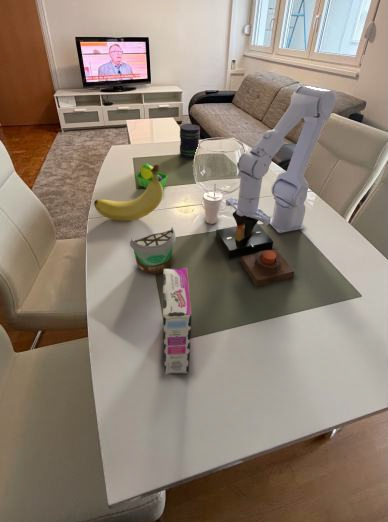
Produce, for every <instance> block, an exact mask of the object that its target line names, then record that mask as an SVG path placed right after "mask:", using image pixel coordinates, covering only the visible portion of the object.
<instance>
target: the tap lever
mask: <svg viewBox="0 0 388 522" xmlns="http://www.w3.org/2000/svg"><path fill="white" fill-rule="evenodd" d="M244 231H245V225H244V223H243V224H241V225H240V226H238V227H237V228H236V232H235V239H236V240H237V241H240V240H242V239H243V238H245V237H244ZM253 231H254V228H253V230H252V232H253ZM252 232H251V233H252Z"/></svg>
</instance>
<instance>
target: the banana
mask: <svg viewBox="0 0 388 522" xmlns="http://www.w3.org/2000/svg"><path fill="white" fill-rule="evenodd" d="M152 167H153V169H151V170H150V171H151V172H152V174H153V177H152V181H151V183H150V184H149V186H148V187H147V188H145V190H144V191H143V193H142V194H141V195H139V196H138V197H136V198H134V199H132V200H127V201H115V200H109V199H100V198H99V199H95V200H94V202H93V205H94V207H95V210H96V211H97V213H99V214H100V215H101V216H103V217H104V218H107V219H111V220H113V221H134V220H138V219H142V218H144V217H145V216H148V215H149V214H150V213H152V212H153V211H155V210H156V209H157V208H158V206H159V205H160V204H161V202H162V200H163V195H164V189H163V188H162V186H161V184H160V183H159V181H158V179H157V173H160V165H159V164H154V165H153V166H152Z"/></svg>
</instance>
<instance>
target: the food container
mask: <svg viewBox="0 0 388 522" xmlns="http://www.w3.org/2000/svg"><path fill="white" fill-rule="evenodd" d="M176 240H177V238H176V233H175V230H174V227H171V229H169V230H166V231H162V232H158V233H152V234H150V235H147V236H144V237H142V238H139V239H135V240H134V239H133V238H131V240H130V241H129V246H130V247H131V249H132V250H133V253H134V257H135V262H136V265H137V268H138V270H140V271H141V272H142V273H144V274H147V275H158V274H163V272H164V269H170V266H171V264H172V256H173V255H172V254H173V246H174V245H175V243H176Z"/></svg>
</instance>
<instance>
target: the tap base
mask: <svg viewBox="0 0 388 522" xmlns="http://www.w3.org/2000/svg"><path fill="white" fill-rule="evenodd" d="M236 228H237V223H235V225H234V226H229V227H224V228H218V229H216V230H215V238H216V240H217V242H218V243H219V246H220V247H221V248H222V250H223V252H224V253H225V256H226V257H227V258H228V259H235V258H239V257H244V256H248V255H253V254H257V253H258V252H260V251H264V250H270V251H271V250H273V247H274V246H273V245H274V240H273V239H272V238H271V237H270V235H269V234H268V233H267V232H266V231H265V230H264V229H263V228H262V226H261V225H260V224H259V222H257V223H256V225H255V226H254V231H253V232H252V233H251V234H250V236H248V237H247V238H246V237H245V238H243V239H242V240H240V241H237V240H236V239H235V232H236Z"/></svg>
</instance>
